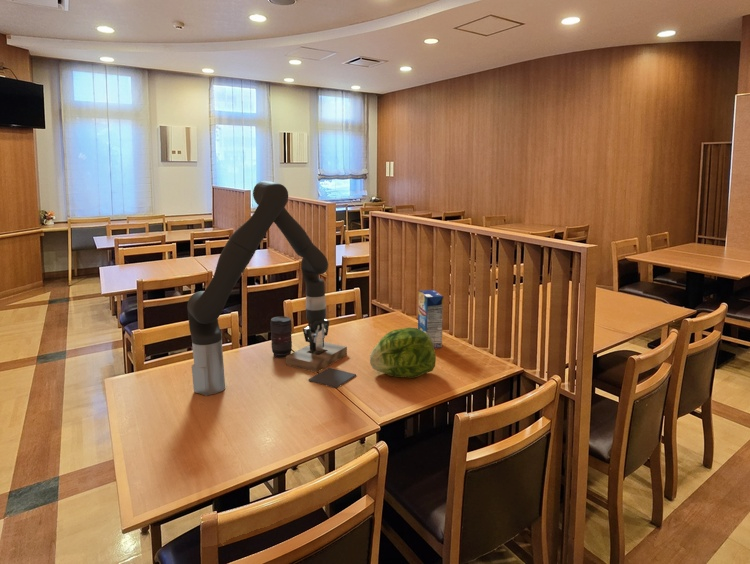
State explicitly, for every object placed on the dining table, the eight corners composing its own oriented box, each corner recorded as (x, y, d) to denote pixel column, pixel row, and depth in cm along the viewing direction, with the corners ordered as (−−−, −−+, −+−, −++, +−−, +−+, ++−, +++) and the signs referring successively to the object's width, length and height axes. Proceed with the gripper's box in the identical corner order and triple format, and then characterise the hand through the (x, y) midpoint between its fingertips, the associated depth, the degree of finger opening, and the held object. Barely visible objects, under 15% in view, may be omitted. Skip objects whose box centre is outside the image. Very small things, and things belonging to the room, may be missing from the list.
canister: (318, 362, 189) (317, 332, 186) (309, 360, 191) (308, 330, 188) (325, 359, 192) (324, 329, 190) (316, 356, 195) (315, 327, 192)
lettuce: (366, 342, 187) (363, 328, 170) (427, 330, 188) (429, 315, 171) (375, 389, 181) (372, 380, 164) (438, 377, 181) (442, 367, 164)
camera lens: (290, 358, 193) (289, 322, 189) (269, 358, 193) (268, 321, 189) (294, 351, 200) (293, 315, 197) (274, 351, 201) (272, 315, 197)
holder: (316, 372, 180) (315, 363, 179) (286, 364, 187) (285, 356, 186) (346, 354, 197) (346, 346, 196) (318, 348, 204) (318, 340, 203)
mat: (336, 388, 167) (336, 386, 167) (308, 380, 173) (308, 379, 173) (356, 375, 177) (356, 374, 177) (328, 368, 183) (328, 367, 183)
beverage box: (426, 349, 203) (427, 297, 198) (417, 340, 213) (418, 290, 208) (441, 347, 204) (443, 296, 199) (432, 339, 215) (433, 289, 210)
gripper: (312, 312, 179) (313, 357, 183) (335, 303, 191) (335, 345, 195) (295, 309, 183) (297, 353, 187) (319, 301, 195) (320, 342, 199)
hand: (317, 349), depth 191 cm, fingers closed on canister, 4 cm apart
